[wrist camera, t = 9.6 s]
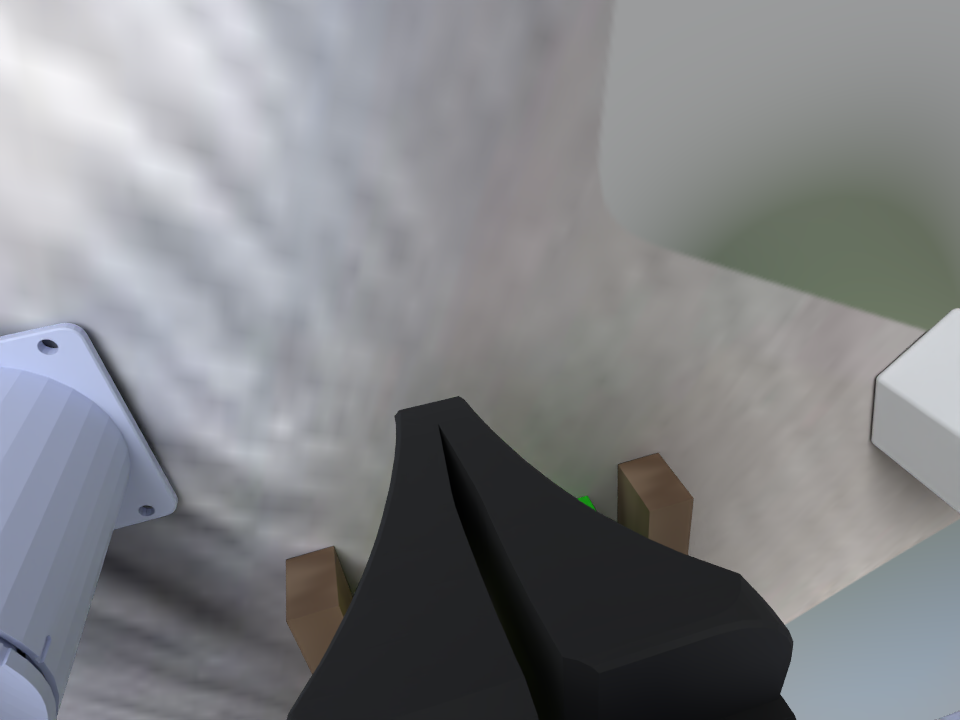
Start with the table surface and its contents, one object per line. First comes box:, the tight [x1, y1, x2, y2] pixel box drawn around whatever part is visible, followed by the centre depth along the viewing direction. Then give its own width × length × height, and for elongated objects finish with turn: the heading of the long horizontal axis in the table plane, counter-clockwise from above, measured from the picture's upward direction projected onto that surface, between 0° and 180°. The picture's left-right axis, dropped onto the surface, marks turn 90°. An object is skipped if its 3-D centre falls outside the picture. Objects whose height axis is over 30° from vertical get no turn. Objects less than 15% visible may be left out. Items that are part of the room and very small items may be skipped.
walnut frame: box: [286, 453, 693, 675], centre depth 30 cm, size 17×15×3 cm
